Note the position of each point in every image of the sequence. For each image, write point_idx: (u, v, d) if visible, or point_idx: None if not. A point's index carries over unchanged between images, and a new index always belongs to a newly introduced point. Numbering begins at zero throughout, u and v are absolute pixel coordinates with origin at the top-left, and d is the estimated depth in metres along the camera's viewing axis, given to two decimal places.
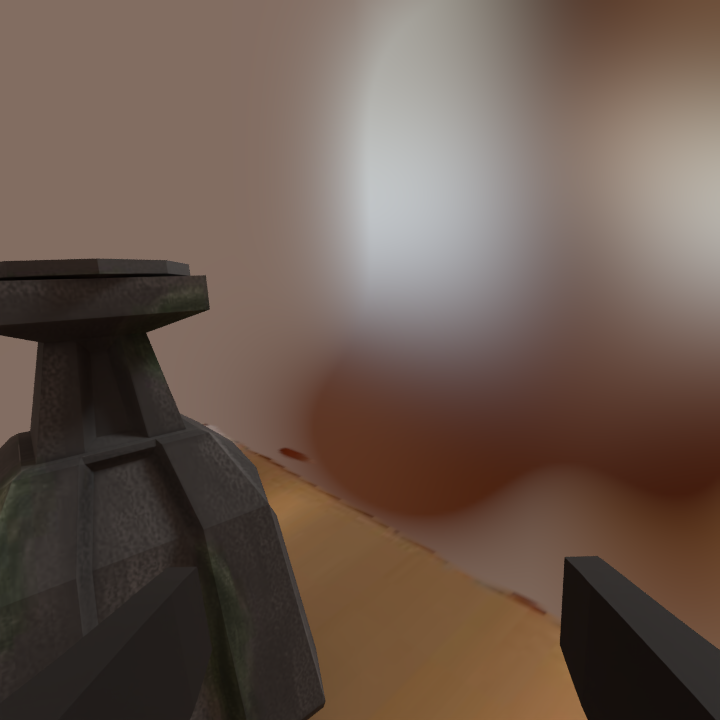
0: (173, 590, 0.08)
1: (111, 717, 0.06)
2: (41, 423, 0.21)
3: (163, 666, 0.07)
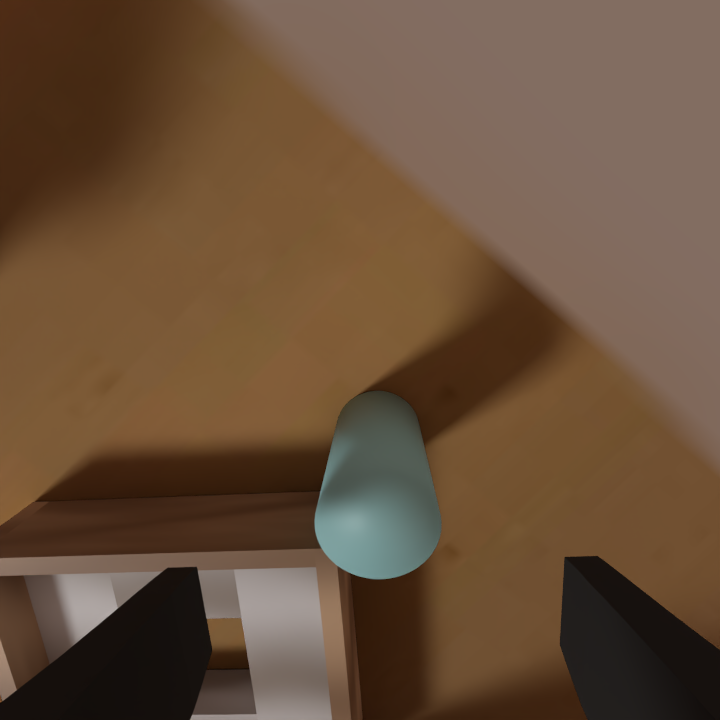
0: (173, 590, 0.08)
1: (111, 717, 0.06)
2: None
3: (163, 666, 0.07)
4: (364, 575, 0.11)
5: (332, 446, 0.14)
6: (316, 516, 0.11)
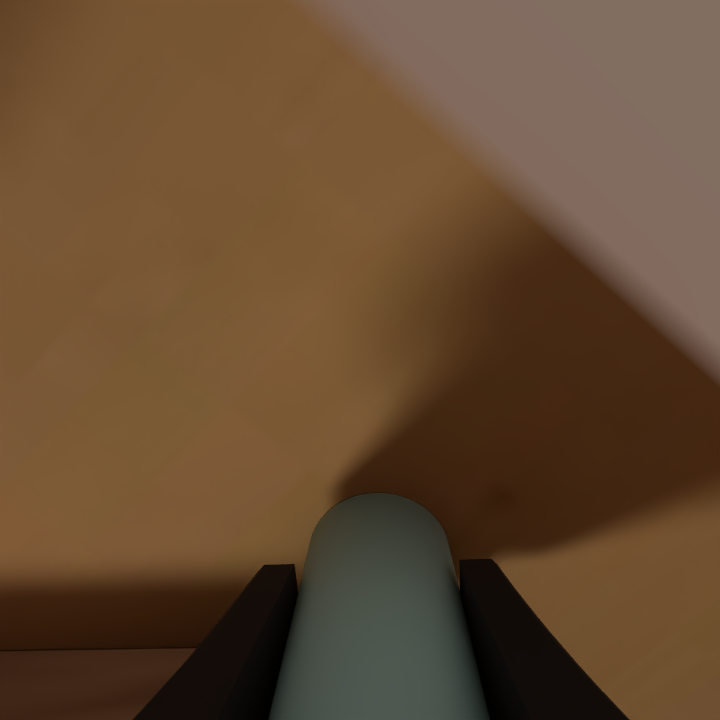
0: (282, 587, 0.07)
1: (249, 716, 0.06)
2: None
3: (278, 664, 0.07)
4: None
5: (289, 640, 0.07)
6: None
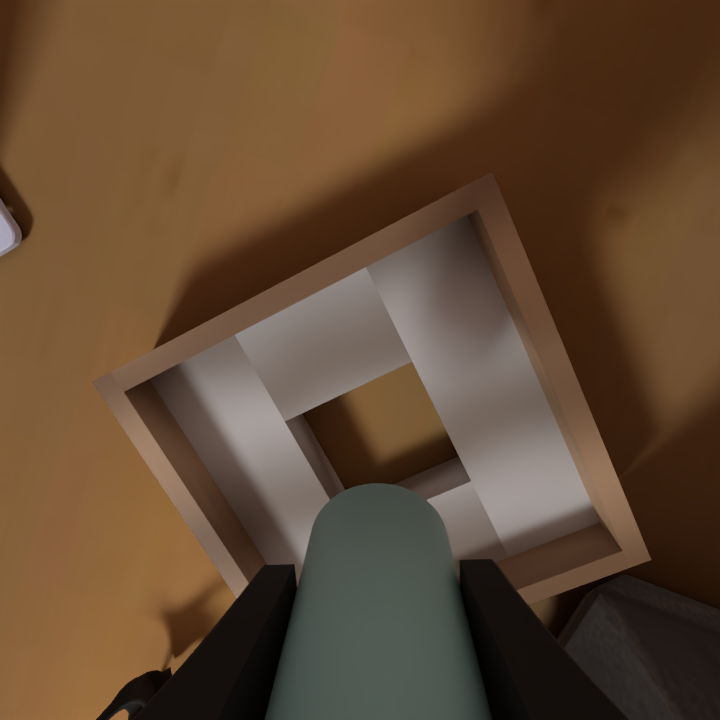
0: (282, 587, 0.07)
1: (249, 716, 0.06)
2: None
3: None
4: None
5: (295, 615, 0.07)
6: None
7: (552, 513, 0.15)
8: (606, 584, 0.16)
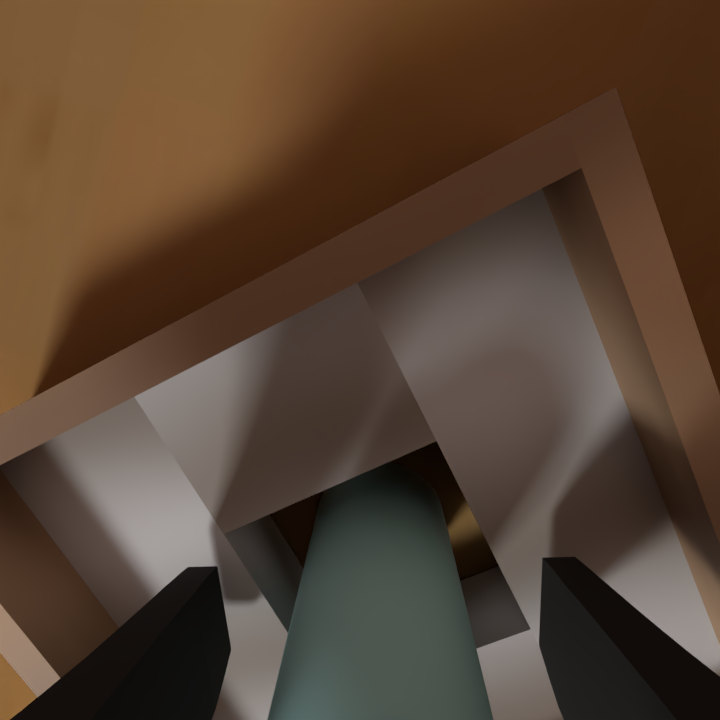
0: (196, 589, 0.08)
1: (140, 717, 0.06)
2: None
3: (187, 666, 0.07)
4: None
5: (307, 572, 0.08)
6: None
7: None
8: None
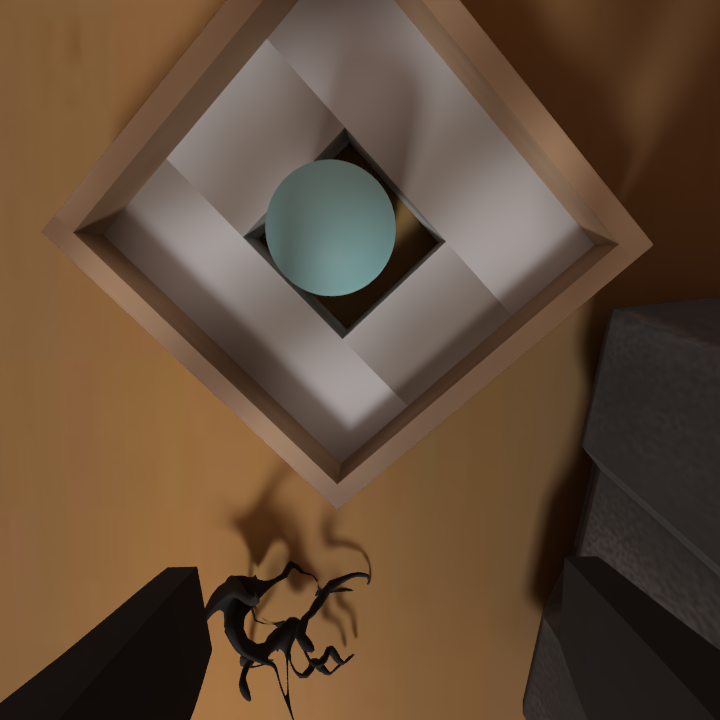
0: (173, 590, 0.08)
1: (111, 717, 0.06)
2: None
3: (163, 666, 0.07)
4: (329, 293, 0.11)
5: None
6: (267, 233, 0.11)
7: (541, 250, 0.14)
8: None
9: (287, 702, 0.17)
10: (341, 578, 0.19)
